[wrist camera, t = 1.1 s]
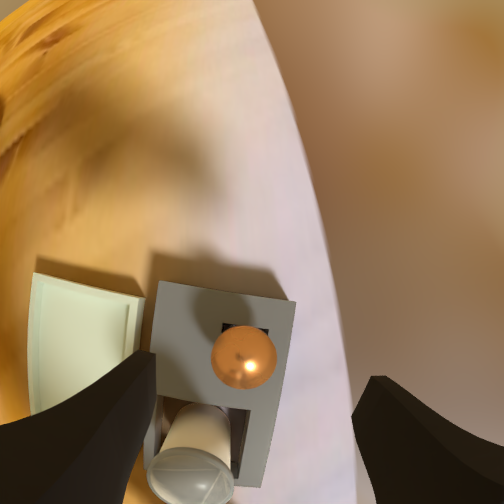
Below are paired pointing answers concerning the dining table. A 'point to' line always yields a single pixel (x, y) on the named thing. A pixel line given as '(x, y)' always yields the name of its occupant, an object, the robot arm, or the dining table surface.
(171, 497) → the cylinder
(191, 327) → the housing
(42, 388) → the tray
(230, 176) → the dining table surface
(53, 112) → the dining table surface
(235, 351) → the orange round piece
